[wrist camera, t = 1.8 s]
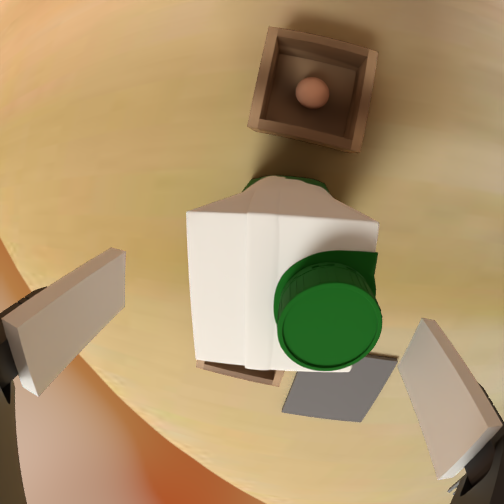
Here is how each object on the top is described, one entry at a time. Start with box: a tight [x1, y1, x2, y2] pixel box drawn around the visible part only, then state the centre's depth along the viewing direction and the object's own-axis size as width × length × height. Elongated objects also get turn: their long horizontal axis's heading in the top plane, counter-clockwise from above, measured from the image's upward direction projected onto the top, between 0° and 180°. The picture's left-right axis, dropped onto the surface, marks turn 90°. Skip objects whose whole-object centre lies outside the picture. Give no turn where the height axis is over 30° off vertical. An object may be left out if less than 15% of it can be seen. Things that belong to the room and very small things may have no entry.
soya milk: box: [186, 175, 382, 372], centre depth 20 cm, size 9×9×20 cm
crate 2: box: [247, 27, 378, 153], centre depth 23 cm, size 9×9×6 cm
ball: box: [296, 77, 329, 109], centre depth 24 cm, size 3×3×3 cm
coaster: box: [282, 355, 398, 422], centre depth 35 cm, size 12×12×1 cm
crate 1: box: [196, 360, 284, 387], centre depth 31 cm, size 9×9×6 cm
